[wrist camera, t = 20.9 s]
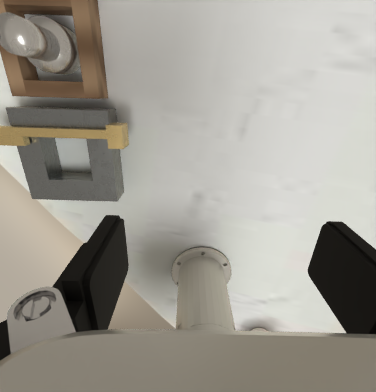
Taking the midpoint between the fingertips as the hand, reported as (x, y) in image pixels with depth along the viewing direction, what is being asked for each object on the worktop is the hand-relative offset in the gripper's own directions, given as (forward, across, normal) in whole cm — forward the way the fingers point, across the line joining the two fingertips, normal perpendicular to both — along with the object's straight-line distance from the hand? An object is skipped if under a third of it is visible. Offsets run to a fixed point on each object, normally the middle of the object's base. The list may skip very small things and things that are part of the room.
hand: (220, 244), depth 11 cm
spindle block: (+28, +20, +3) cm, 35 cm away
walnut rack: (+28, +20, -12) cm, 37 cm away
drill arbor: (+28, +20, -12) cm, 36 cm away
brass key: (+24, +20, -1) cm, 31 cm away
